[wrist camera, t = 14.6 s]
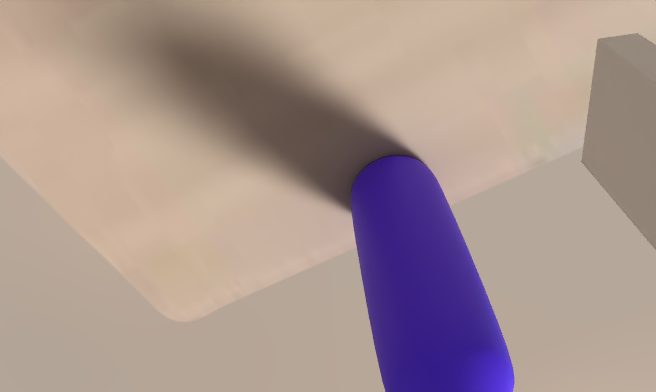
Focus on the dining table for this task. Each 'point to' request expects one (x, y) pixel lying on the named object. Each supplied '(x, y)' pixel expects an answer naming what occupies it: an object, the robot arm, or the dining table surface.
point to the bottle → (423, 286)
